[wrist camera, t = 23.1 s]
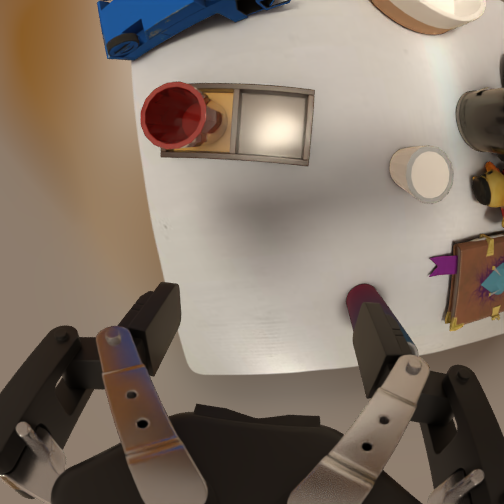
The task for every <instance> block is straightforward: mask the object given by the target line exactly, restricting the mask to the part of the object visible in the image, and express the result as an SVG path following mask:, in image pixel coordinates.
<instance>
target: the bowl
mask: <svg viewBox="0 0 504 504" xmlns="http://www.w3.org/2000/svg"><path fill="white" fill-rule="evenodd" d="M371 1H372V2H373V3H374V4H375V6H377V7H378V8H379V9H380V10H381V11H382V12H383V13H384V14H385V15H387V16H388V17H390V18H391V19H392V20H394V21H395V22H397V23H399V24H401V25H402V26H404V27H406V28H408V29H411V30H413V31H416V32H420V33H423V34H432V35H436V34H443V33H445V32H447V31H449V30H452V29H454V28H457V27H459V26H462V25H464V24H466V23H469V22H471V21H474V20H476V19H478V18H479V17H480V16H481V15H482V14H483V12H484V9H485V4H486V0H371Z"/></svg>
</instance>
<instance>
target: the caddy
mask: <svg viewBox="0 0 504 504" xmlns="http://www.w3.org/2000/svg"><path fill="white" fill-rule="evenodd" d="M189 85H192V86H193V87H195V88H197V89H198V90H200V91H202V92H203V93H205V94H206V95H208V96H210V97H211V98H213V99H214V100H216V101H217V102H218V103H220V104H221V105H222V106H223V108H224V109H225V111H226V113H227V117H228V125H227V129H226V131H225V133H224V134H223V136H222V137H221V138H220V139H219V140H218V141H216V142H215V143H213V144H210V145H207V146H197V147H188V148H180V149H164V148H161V157H174V158H209V159H230V160H246V161H259V162H271V163H282V164H292V165H301V166H308V165H309V155H310V144H311V133H312V121H313V108H314V94H315V90H311V89H303V88H294V87H284V86H272V85H257V84H233V83H195V84H189Z"/></svg>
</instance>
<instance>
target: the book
mask: <svg viewBox="0 0 504 504" xmlns="http://www.w3.org/2000/svg"><path fill="white" fill-rule="evenodd" d="M429 259H431V260H432V261H433V262H434V263H435V264H436V265H437V266H438V267H437V268H436V269H435V270H434V271H433V272H432V274H431V275H430V276H429V277H431V276H436V275H445V274H452V279H451V290H450V299H449V307H448V311H447V314H446V317H445V324H446V323H450V331H456V330H458V329H460V328H461V327H463V325H464V324H468V323H471V322H474V321H477V320H480V319H483V318H486V317H489V316H491V317H492V320H495V319H497V320H499V319H500V317H499V316H500V315H499V314H498V313H500V312H503V311H504V233H503V234H498V235H493V236H487V235H485V234H480V238H477V239H473V240H471V241H469V242H463V243H458V244H455V245H454V246H453V256H438V257H434V258H429Z"/></svg>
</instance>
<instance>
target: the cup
mask: <svg viewBox="0 0 504 504" xmlns="http://www.w3.org/2000/svg"><path fill="white" fill-rule="evenodd" d="M363 302H371V303H380V304H381V306H382V308H383V310H384V313H385V314H389V315H390V316H391V317H393V318H394V319H395V320H396V321H397V323H398V325H399V327H400V330H401V331H402V333H403V337H405V339H406V341H407V343H408V345H409V347H410V349H411V351H412V354H413V355H415V356H418V350H417V348H416V346H415V344H414V343H413V341H412V340H411V338H410V337H409V336H408V334H407V333H406V331H405V330H404V328H403V327H402V325H401V324H400V323H399V321H398V320H397V318H396V317H395V315H394V314H393V313H392V311H391V310H390V308H389V307H388V306H387V304H386V303H385V301H384V300H383V299H382V297H381V296H380V295H379V293H378V292H377V291H376V289H375V288H374V287H373V286H371V285H369V284H361V285H358V286H355V287H354V288H353V289H352V290H350V292H349V293H348V295H347V298H346V303H347V307H348V311H349V315H350V319H351V324H352V328H353V332H354V329H355V325H356V322H357V318H358V315H359V311H360V308H361V305H362V303H363Z"/></svg>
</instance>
